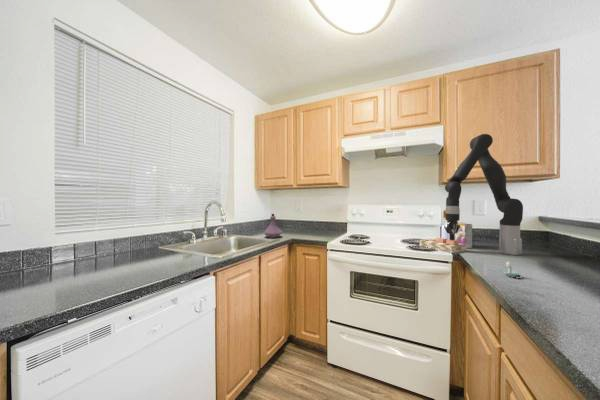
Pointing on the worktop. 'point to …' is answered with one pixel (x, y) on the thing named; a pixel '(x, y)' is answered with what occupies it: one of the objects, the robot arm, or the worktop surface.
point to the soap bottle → (443, 231)
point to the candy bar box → (464, 234)
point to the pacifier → (511, 271)
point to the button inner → (452, 242)
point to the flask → (272, 229)
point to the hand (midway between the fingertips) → (452, 239)
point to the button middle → (441, 240)
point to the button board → (443, 246)
